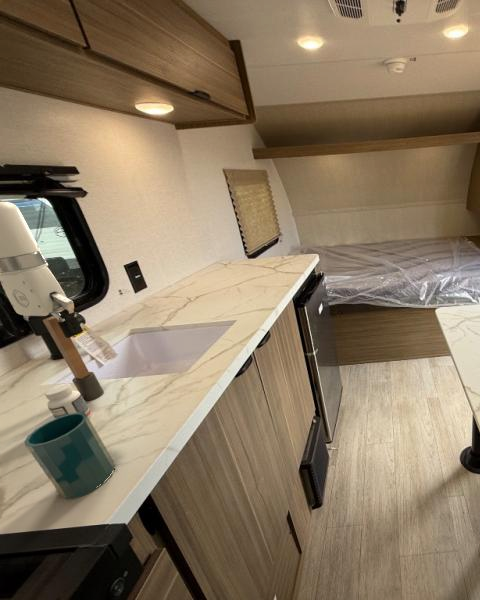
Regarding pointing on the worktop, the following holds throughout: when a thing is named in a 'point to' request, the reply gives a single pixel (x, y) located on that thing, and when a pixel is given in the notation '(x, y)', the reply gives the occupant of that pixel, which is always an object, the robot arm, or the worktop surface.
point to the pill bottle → (65, 401)
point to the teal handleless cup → (71, 454)
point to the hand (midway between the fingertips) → (60, 334)
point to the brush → (74, 362)
